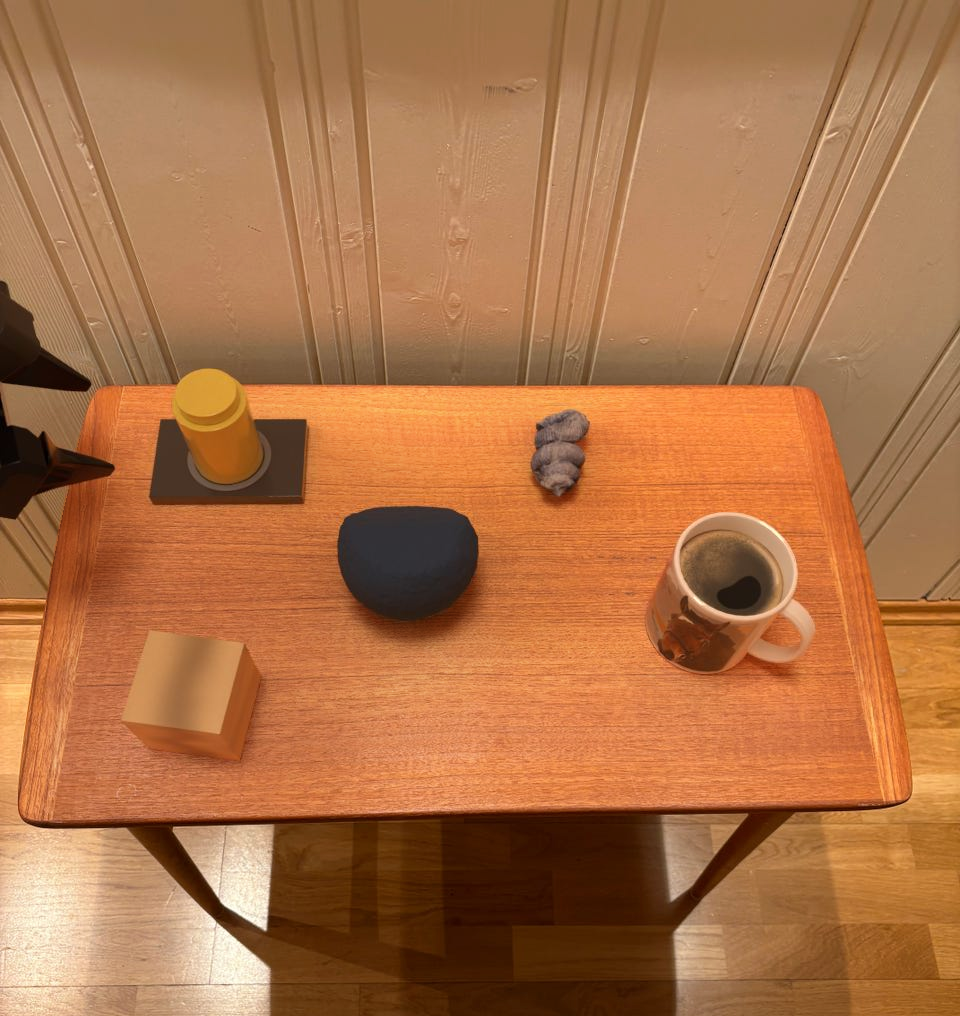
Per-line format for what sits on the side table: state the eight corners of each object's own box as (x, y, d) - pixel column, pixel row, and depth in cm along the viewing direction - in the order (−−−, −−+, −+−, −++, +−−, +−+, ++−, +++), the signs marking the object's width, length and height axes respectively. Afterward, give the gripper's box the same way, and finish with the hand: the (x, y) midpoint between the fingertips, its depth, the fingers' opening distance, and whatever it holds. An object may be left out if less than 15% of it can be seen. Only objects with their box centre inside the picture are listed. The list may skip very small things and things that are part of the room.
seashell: (551, 431, 88) (551, 517, 84) (522, 403, 84) (521, 491, 80) (597, 413, 85) (600, 501, 81) (570, 383, 81) (571, 473, 77)
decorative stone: (488, 630, 77) (494, 576, 68) (355, 654, 76) (343, 602, 67) (462, 520, 82) (465, 455, 73) (336, 539, 80) (322, 476, 71)
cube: (148, 748, 71) (119, 720, 65) (174, 664, 75) (149, 629, 68) (239, 761, 71) (219, 734, 65) (261, 676, 74) (244, 642, 68)
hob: (152, 504, 81) (148, 496, 80) (163, 426, 85) (159, 417, 84) (303, 503, 82) (301, 495, 81) (308, 426, 86) (306, 417, 84)
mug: (731, 563, 81) (772, 496, 71) (790, 677, 76) (842, 622, 66) (628, 592, 79) (655, 528, 69) (681, 711, 75) (718, 660, 65)
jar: (214, 495, 80) (188, 434, 72) (183, 447, 82) (154, 382, 74) (275, 464, 82) (257, 401, 74) (243, 418, 84) (222, 351, 76)
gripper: (-55, 392, 53) (177, 452, 65) (-94, 190, 60) (122, 278, 72) (-116, 503, 58) (107, 539, 70) (-145, 306, 65) (62, 370, 77)
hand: (100, 427), depth 72 cm, fingers open, 9 cm apart
